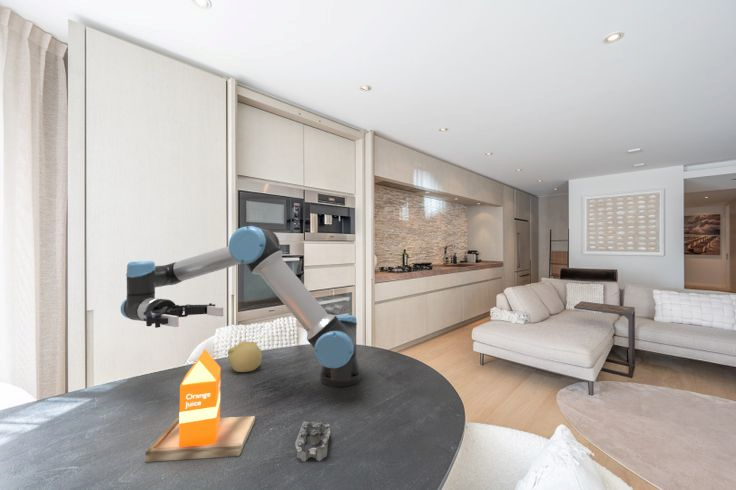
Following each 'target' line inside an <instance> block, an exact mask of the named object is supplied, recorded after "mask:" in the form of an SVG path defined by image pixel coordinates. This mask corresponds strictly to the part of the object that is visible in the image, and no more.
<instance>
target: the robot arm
mask: <svg viewBox="0 0 736 490" xmlns="http://www.w3.org/2000/svg"><path fill="white" fill-rule="evenodd" d="M280 245H281V243H280V240H279V238H278V236H277V234H276V233H275V232H274V231H272V230H270V229H269V228H267V229H266V228H262V227H257V226H254V225H248V226H246V225H245V226H242V227H240V228H238V229H236V230H235V231H233V233H232V234H231V236H230V239H229V242H228V246H225V247H222V248H217V249H215V250H212V251H208V252H205V253H201V254H197V255H194V256H191V257H188V258H186V259H181V260H179V261H175V262H172V263H169V264H165V265H156V264H155V262H154V261H152V260H142V261H130V262H128V263H127V265H126V274H125V276H126V299H125V300H124V301H123V302H122V303H121V305H120V313H121V314H122V316H123V317H125V318H127V319H129V320H132V321H141V322H145V324H146V327H152V325H154V328H156V329H158V328H161V326H166V327H173V328H177V327H179V322H180V321H179V318H187V317H188V316H193V315H194V316H195V315H207V316H213V317H224V307H223V306H216V303H215V304H213V303H208V304H185V305H183V304H182V305H179V304H176V303H175V302H174V301H172V300H171V299H167V298H157V297H155V296H156V288H162V287H164V286H173V285H178V284H179V283H181V282H184V281H187V280H191V279H194V278H196V277H197V278H198V277H201V276H204V275H207V274H210V273H211V274H212V273H214V272H218V271H221V270H224V269H228V268H231V267H235V266H237V265H242V264H244V265H245V267H246V268H248V270H249V271H250V273H252V275H258V276H260V277H261V278H262V279H263V281H265V283H266V284H267V285H268V287H270V289H271V291H272V292H274V294H275V295H276V296H277V297H278V299H279V300H280V301H281V303H283V305H284V306H285V307H286V309H288V310H289V312H290V313H291V314H292V315H293V317H294V318H295V319H296V320H297V321H298V323H299V324H300V325H301V327H302V328H303V329H304V330H305V331H306V340H307V342H308V343H309V344H310V345H311V347H312V348H313V350H314V356H315V359H316V360H317V362H319V364H320V365H321V369H320V372H319V381H320V382H321V383H322V384H324V385H325V386H329V387H337V388H340V387H350V386H353V385H355V384H357V383H359V382H360V381H361V380H362V370H361V368H360V364H359V362H358V361H359V360H358V358H357V325H358V322H357V321H358V320H357V317H356V316H355V315H351V314H331V313H330V314H329V313H328V312H327V310H326V309H324V308H323V306H322V305H321V304H320V303H319V302H318V300H317V299H316V298H315V296H313V294H312V293H311V291H310V290H309V289H308V288H307V287H306V285H304V283H303V282H302V281H301V280H300V279H299V277H298V276H297V275H296V274H295V272H294V271H293V270H292V268H290V266H289V265H288V264H287V263H286V261H285V260H284V259H283V251H282V250H281V248H280ZM183 313H184V314H183Z"/></svg>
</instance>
